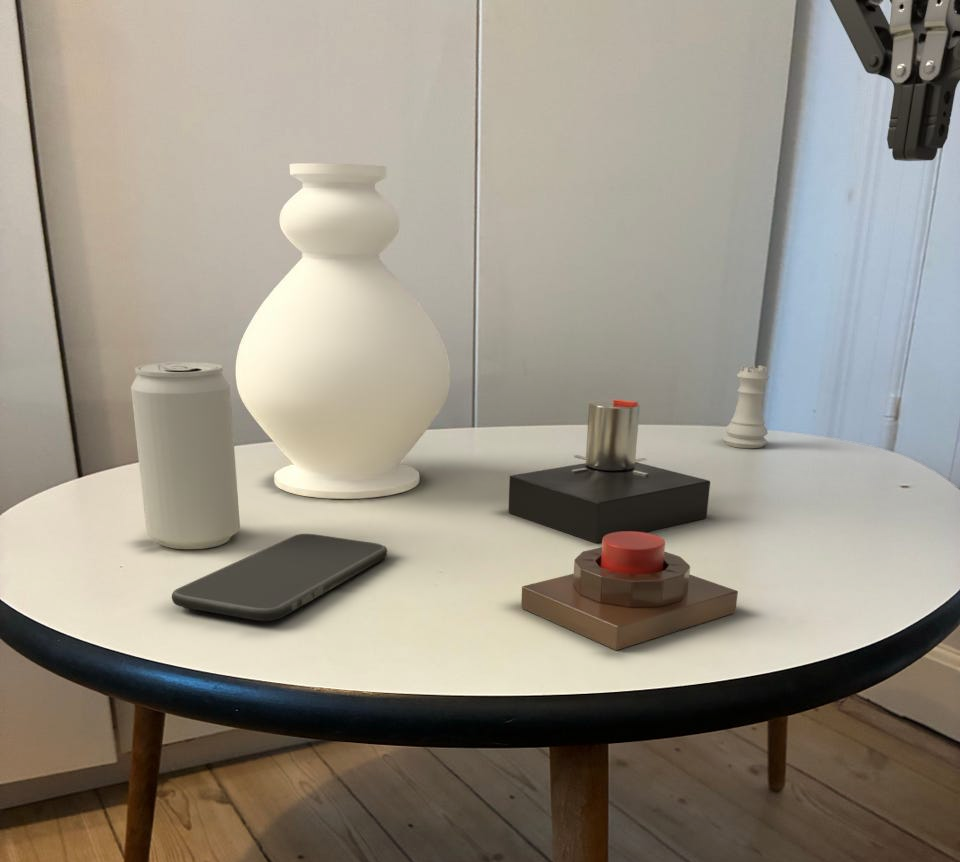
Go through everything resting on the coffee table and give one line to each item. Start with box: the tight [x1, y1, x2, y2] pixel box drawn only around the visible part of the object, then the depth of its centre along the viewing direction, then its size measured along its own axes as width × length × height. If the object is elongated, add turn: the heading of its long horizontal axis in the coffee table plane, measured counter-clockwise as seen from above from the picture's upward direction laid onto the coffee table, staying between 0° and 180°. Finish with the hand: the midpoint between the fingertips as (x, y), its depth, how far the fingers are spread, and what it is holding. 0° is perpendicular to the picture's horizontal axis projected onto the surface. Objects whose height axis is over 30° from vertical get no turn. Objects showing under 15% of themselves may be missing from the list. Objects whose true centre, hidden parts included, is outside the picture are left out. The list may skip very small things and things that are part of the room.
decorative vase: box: [235, 162, 451, 500], centre depth 85 cm, size 18×18×25 cm
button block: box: [520, 546, 739, 651], centre depth 60 cm, size 10×8×3 cm
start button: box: [601, 531, 666, 574], centre depth 59 cm, size 4×4×2 cm
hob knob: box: [585, 398, 640, 471], centre depth 82 cm, size 4×4×5 cm
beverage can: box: [130, 361, 241, 550], centre depth 70 cm, size 6×6×12 cm
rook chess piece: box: [723, 364, 770, 449], centre depth 106 cm, size 4×4×8 cm
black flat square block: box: [508, 454, 711, 544], centre depth 81 cm, size 13×12×3 cm
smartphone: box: [171, 533, 388, 622], centre depth 64 cm, size 7×1×15 cm
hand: (912, 159), depth 58 cm, fingers closed
